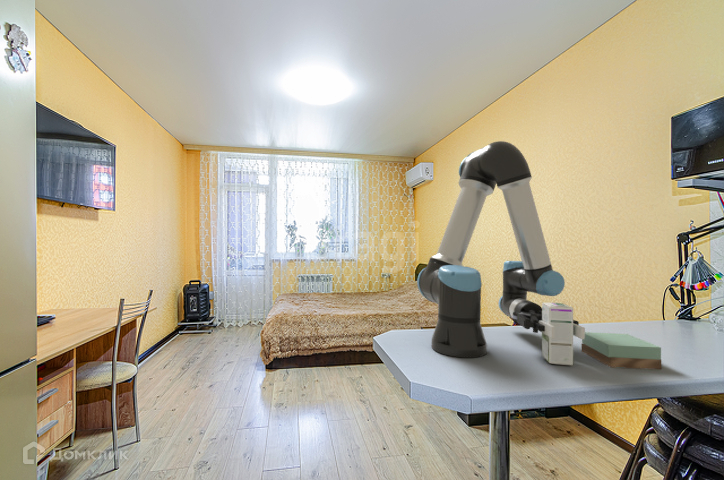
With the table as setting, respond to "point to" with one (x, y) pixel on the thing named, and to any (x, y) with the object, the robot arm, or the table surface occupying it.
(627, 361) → the bottom slab
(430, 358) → the table surface
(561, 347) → the syrup box
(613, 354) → the top slab
